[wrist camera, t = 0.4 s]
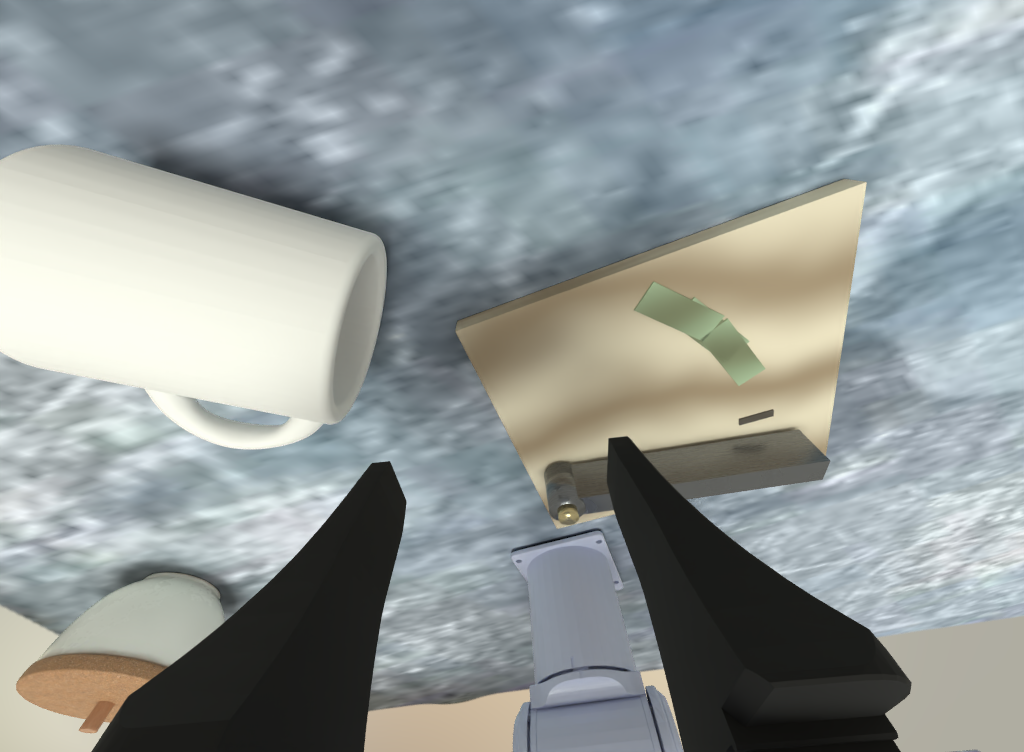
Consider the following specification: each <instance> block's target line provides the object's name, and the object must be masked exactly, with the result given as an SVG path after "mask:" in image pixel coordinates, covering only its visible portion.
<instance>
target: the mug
mask: <svg viewBox="0 0 1024 752" xmlns="http://www.w3.org/2000/svg"><path fill="white" fill-rule="evenodd" d="M386 279H387V258H386V251H385V247H384V244H383V242H382V240H381V239H380V237H378V236H377V235H376V234H374V233H370V232H367V231H364V230H360V229H357V228H354V227H350V226H347V225H344V224H340V223H337V222H333V221H330V220H327V219H323V218H320V217H317V216H313V215H310V214H307V213H303V212H300V211H297V210H293V209H290V208H286V207H283V206H280V205H276V204H273V203H270V202H266V201H263V200H260V199H256V198H253V197H249V196H246V195H243V194H239V193H236V192H233V191H229V190H226V189H223V188H219V187H216V186H212V185H209V184H206V183H202V182H199V181H196V180H192V179H189V178H186V177H182V176H179V175H176V174H172V173H169V172H165V171H162V170H159V169H155V168H152V167H149V166H145V165H142V164H139V163H135V162H132V161H128V160H125V159H122V158H118V157H115V156H112V155H108V154H105V153H102V152H98V151H95V150H91V149H88V148H83V147H78V146H71V145H45V146H37V147H33V148H29V149H25V150H22V151H19V152H16V153H14V154H12V155H10V156H8V157H5V158H3V159H2V160H0V351H1V352H2V353H3V354H5V355H7V356H9V357H11V358H13V359H15V360H17V361H19V362H22V363H24V364H27V365H30V366H33V367H37V368H41V369H46V370H51V371H56V372H62V373H67V374H72V375H77V376H82V377H87V378H92V379H98V380H103V381H108V382H113V383H118V384H123V385H128V386H134V387H139V388H144V389H145V390H146V392H147V393H148V395H149V396H150V398H151V399H152V401H153V402H154V403H155V404H156V406H157V407H158V408H159V409H160V410H161V411H162V412H163V413H164V414H165V415H166V416H167V417H168V418H169V419H170V420H172V421H173V422H174V423H176V424H177V425H178V426H180V427H181V428H183V429H185V430H186V431H188V432H190V433H191V434H193V435H195V436H197V437H199V438H202V439H204V440H206V441H209V442H211V443H214V444H217V445H221V446H225V447H230V448H236V449H266V448H273V447H279V446H284V445H288V444H291V443H295V442H297V441H300V440H302V439H304V438H306V437H308V436H310V435H311V434H313V433H314V432H316V431H317V430H318V429H319V428H320V427H321V426H322V425H323V423H324V424H336V423H338V422H340V421H341V420H342V419H343V418H344V417H345V416H346V415H347V414H348V412H349V411H350V409H351V408H352V406H353V404H354V402H355V400H356V398H357V396H358V394H359V392H360V389H361V387H362V385H363V382H364V379H365V377H366V374H367V371H368V368H369V365H370V362H371V358H372V355H373V352H374V348H375V344H376V340H377V336H378V332H379V327H380V322H381V317H382V312H383V306H384V299H385V291H386ZM196 399H201V400H206V401H211V402H216V403H221V404H226V405H231V406H237V407H242V408H247V409H252V410H257V411H262V412H268V413H273V414H278V415H283V416H288V417H290V419H289V420H288V421H287V422H286V423H284V424H282V425H259V424H251V423H244V422H238V421H233V420H229V419H226V418H222V417H220V416H217V415H215V414H213V413H211V412H209V411H207V410H206V409H205V408H204V407H202V406H201V405H200V404H199V402H198V401H197V400H196Z"/></svg>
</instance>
